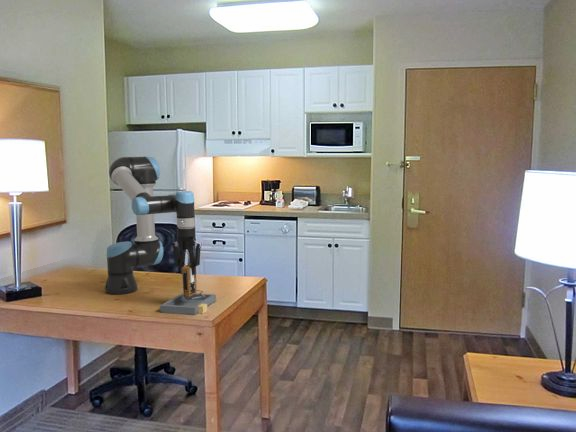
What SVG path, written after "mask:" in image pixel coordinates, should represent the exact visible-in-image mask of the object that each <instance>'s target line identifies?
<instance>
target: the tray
mask: <svg viewBox="0 0 576 432" xmlns="http://www.w3.org/2000/svg"><path fill="white" fill-rule="evenodd" d="M201 294H202V295H204V296H205V297H203V296H202V295H200V294H199V292H197V293H196V294H193V295H191V296H190V297H184V292H182V293H179V294H178V295H176V296H174V297H173V298H171V299H169V300H167V301H166V302H164V303H162V304H160V305H159V313H161V314H162V313H163V314H175V315H186V314H187V316H189V315H191V316H196V315H197V313H198V314H200V313H204V312H205V313H206V311H207V312H208V308H209V307H210V306H211V305H212V303H213V304H214V303H216V302H217V294H212V293H201ZM195 297H199V298H196V299H192V298H195ZM185 298H186V299H185ZM187 299H190V300H187ZM215 301H216V302H215ZM209 305H210V306H209ZM205 313H204V314H205Z"/></svg>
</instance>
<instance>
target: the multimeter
mask: <svg viewBox="0 0 576 432" xmlns="http://www.w3.org/2000/svg"><path fill="white" fill-rule="evenodd" d="M184 252H186V253H187V255H189V253H188V250H186V251H184ZM184 252H183V253H184ZM183 253H182V256H183ZM190 267H191V265H190V259H189V256H187V265H186V264H185V266H184V267H183V266H182V274H181V276H182V275H183V282H182V289H183V293H184V297H190V296H191V295H193V294H196V293H199V289H197V273H196V274H195V275H194V282H192V283H190V276H189V268H190ZM195 268H196V269H197V266H196V267H195ZM199 294H200V295H202V294H204V291H203V290H200V293H199ZM202 296H203V297H205V296H204V295H202ZM196 298H199V297H195V298H192V299H196ZM185 299H186V298H185ZM187 300H190V299H187Z"/></svg>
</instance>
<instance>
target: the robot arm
mask: <svg viewBox="0 0 576 432" xmlns="http://www.w3.org/2000/svg"><path fill="white" fill-rule="evenodd" d="M160 172H161V171H160V165H159V163H158V162H157V159H155V157H151V156H122V157H119V158H117V159H115V160H114V161H113V162H112V163H111V164H110V166H109V170H108V175H109V178H110V180H111V182H112V183H113V184H115V185H117V186H118V187H120V189H122V191H123V192H124V193H125V195H126V196H127V197H128V198H129V200H130V201H131V210H132V213H133V214H134V215H135V218H136V237H135V238H134V240H133V242H134V243H132V242H131V241H120V242H115V243H112V244H110V245H108V246H107V249H106V265H107V280H106V283H105V286H104V293H105V294H107V295H108V294H109V295H124V294H130V293H131V294H132V293H134V292H136V291H138V290H139V289H138V283H137V280H136V278H135V276H134V268H140V267H147V266H155V265H158V264H160V263H161V261H162V259H163V256H164V246H163V245H164V244H163V243H162V241H160V240H159V237H158V236H157V235H156V228H155V226H156V225H155V215H157V214H169V213H170V214H171V213H176V227H177V229H176V234H177V235H176V236H177V239H176V241H175V242H172V243H171V246H172V248H173V255H174V256H173V257H174V261H175V266H178V267H179V270H180V271H179V273H180V275H181V278H182V279H181V281H182V283H183V275H182V266H183V267H184V266H186V263H185V262H186V253H188V257H189V259H190V265H191V267H190V268H189V276H190V283H192V282H194V275H195V274H196V275H197V267H198V266H200V264H201V248H202V245H203V243H202V242H198V241H197V238H196V228H195V227H196V220H195V214H196V213H195V198H194V197H195V196H194V192H193V191H191V190H180V191H179V190H178V191H176V193H175V194H167V195H154V186H156V181H158V180H159V179H160V174H161V173H160ZM194 247H195V250H194ZM184 251H187V252H184ZM183 252H184V253H183ZM182 253H183V256H182ZM195 267H196V268H195Z"/></svg>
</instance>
